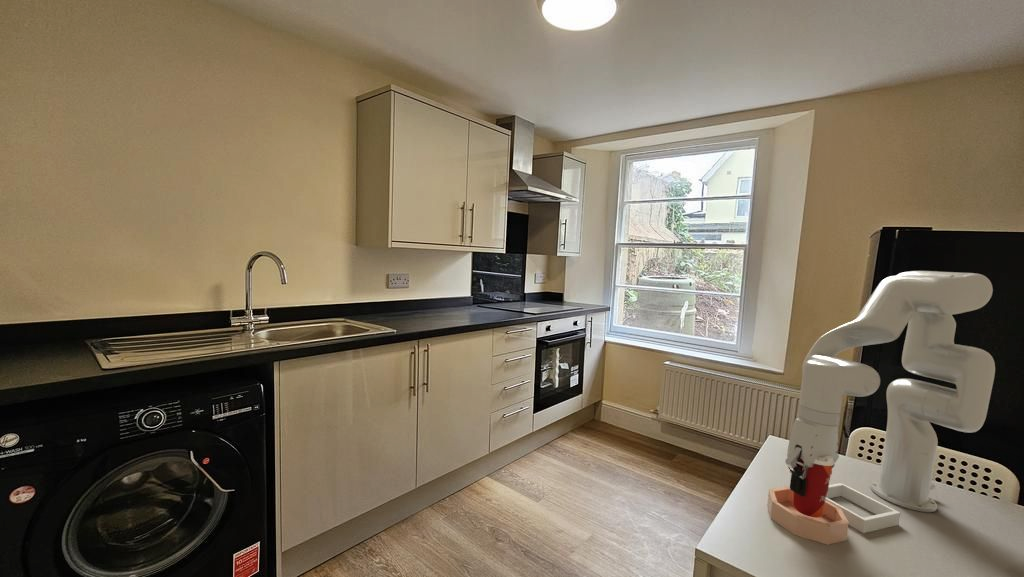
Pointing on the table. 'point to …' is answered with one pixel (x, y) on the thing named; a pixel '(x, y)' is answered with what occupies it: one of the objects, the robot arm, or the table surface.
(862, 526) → the parts tray
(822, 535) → the dish
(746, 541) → the table surface
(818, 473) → the paper cup
